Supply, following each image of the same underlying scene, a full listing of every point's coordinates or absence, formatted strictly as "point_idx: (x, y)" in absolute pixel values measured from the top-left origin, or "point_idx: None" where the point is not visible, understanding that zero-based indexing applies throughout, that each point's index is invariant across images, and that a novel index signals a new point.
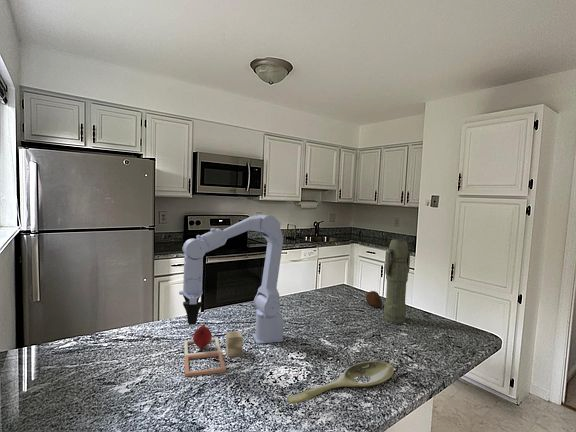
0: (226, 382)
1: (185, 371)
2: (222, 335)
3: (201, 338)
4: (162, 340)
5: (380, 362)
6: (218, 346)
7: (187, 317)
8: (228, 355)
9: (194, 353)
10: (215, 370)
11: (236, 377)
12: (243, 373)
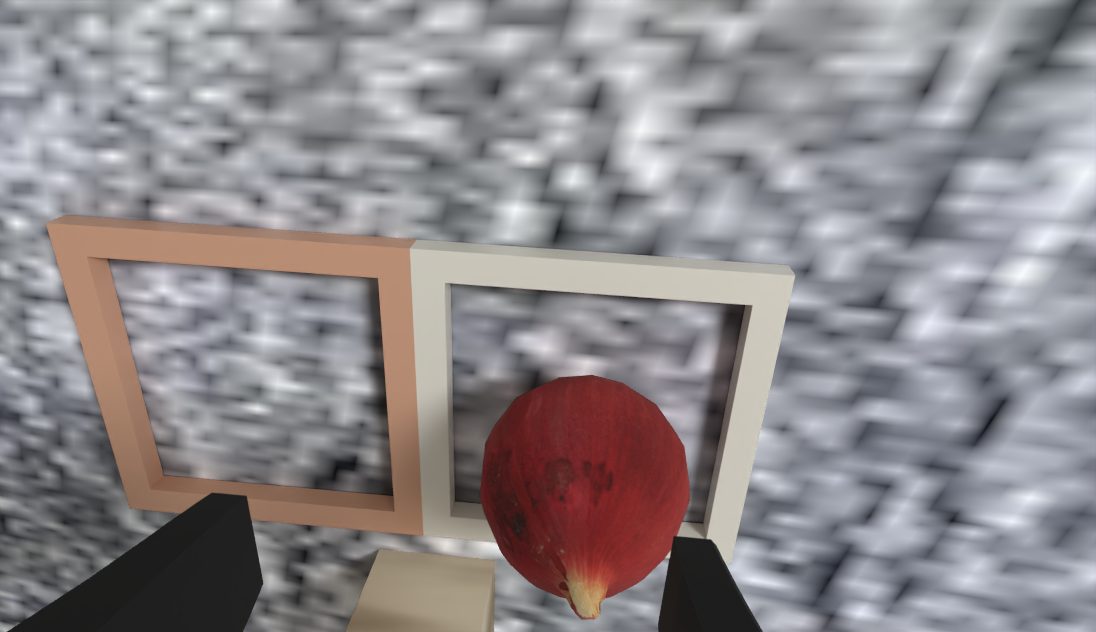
0: (5, 470)
1: (89, 229)
2: (811, 597)
3: (483, 476)
4: (992, 6)
5: None
6: None
7: (65, 594)
8: (375, 561)
9: (435, 338)
10: (113, 444)
11: (72, 534)
12: None
